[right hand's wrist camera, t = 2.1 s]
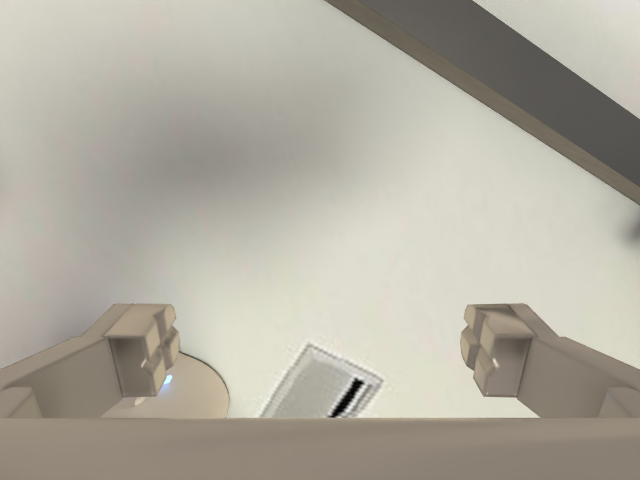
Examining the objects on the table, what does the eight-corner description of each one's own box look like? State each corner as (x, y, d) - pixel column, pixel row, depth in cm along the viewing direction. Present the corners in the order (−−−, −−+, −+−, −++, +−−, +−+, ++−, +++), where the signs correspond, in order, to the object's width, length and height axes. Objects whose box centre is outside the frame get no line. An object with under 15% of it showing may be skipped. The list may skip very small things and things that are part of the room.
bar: (77, -161, 30) (24, -221, 25) (95, -226, 29) (42, -306, 23) (694, 240, 44) (750, 260, 38) (724, 208, 42) (788, 224, 37)
